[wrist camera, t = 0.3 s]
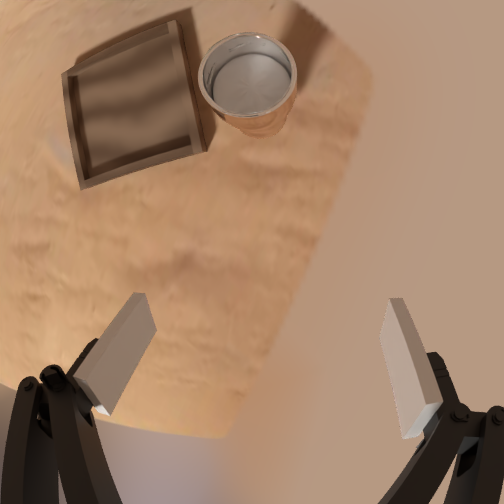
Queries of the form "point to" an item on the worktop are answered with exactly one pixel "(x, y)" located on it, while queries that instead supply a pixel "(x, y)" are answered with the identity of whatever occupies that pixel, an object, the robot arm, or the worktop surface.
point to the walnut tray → (132, 106)
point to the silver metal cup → (249, 82)
